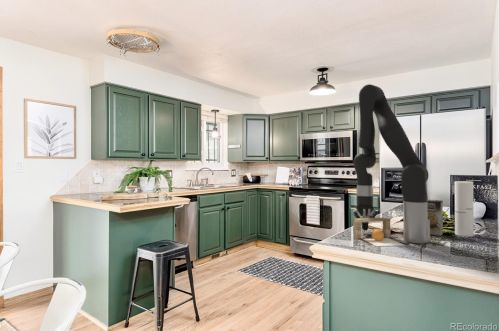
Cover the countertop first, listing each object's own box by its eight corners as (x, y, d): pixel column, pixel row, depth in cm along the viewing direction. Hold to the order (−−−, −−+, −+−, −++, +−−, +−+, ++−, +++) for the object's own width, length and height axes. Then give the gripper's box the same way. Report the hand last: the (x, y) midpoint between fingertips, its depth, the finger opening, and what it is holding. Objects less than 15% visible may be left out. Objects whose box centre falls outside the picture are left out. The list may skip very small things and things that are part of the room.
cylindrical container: (476, 236, 138) (476, 182, 138) (459, 236, 139) (458, 182, 139) (468, 233, 145) (468, 181, 145) (452, 232, 146) (451, 181, 146)
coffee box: (418, 233, 146) (418, 199, 146) (421, 230, 151) (421, 198, 151) (441, 235, 140) (440, 201, 140) (443, 233, 145) (442, 199, 145)
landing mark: (388, 238, 136) (388, 238, 136) (404, 245, 124) (404, 245, 124) (362, 239, 135) (362, 238, 135) (376, 246, 123) (376, 246, 123)
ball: (379, 237, 135) (380, 227, 134) (385, 242, 131) (386, 231, 130) (369, 238, 135) (370, 227, 134) (374, 243, 130) (375, 232, 129)
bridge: (353, 237, 139) (353, 218, 139) (386, 236, 141) (386, 217, 141) (356, 238, 136) (356, 219, 136) (390, 237, 138) (390, 218, 138)
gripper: (373, 193, 151) (373, 228, 151) (348, 194, 150) (348, 228, 150) (381, 195, 143) (381, 231, 144) (355, 195, 142) (355, 232, 142)
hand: (364, 230), depth 147 cm, fingers closed
